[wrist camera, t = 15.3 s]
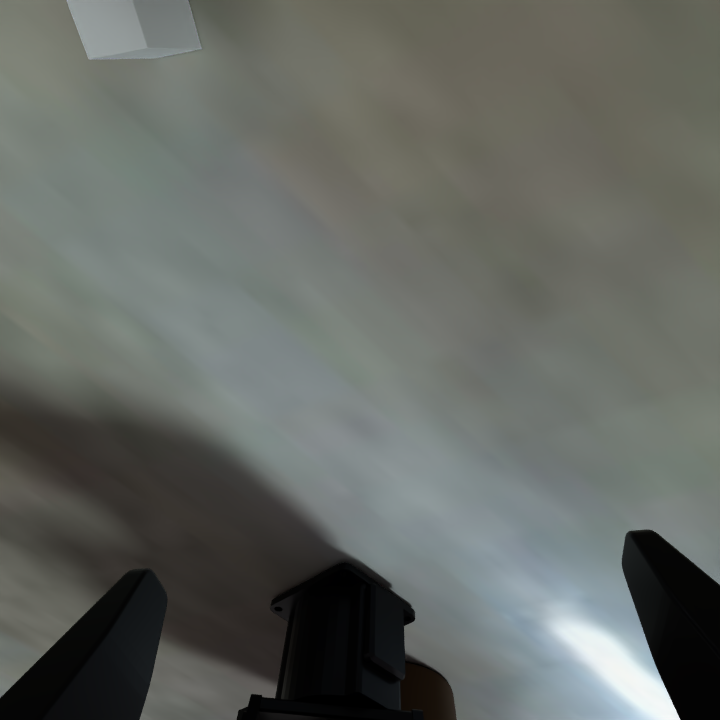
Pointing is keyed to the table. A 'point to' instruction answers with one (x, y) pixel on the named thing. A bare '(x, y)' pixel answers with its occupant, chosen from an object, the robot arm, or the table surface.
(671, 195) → the table surface
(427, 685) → the olive oil
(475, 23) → the table surface
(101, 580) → the table surface
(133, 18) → the slotted rail
